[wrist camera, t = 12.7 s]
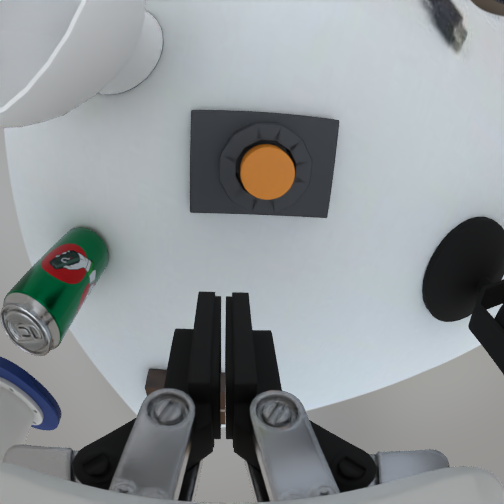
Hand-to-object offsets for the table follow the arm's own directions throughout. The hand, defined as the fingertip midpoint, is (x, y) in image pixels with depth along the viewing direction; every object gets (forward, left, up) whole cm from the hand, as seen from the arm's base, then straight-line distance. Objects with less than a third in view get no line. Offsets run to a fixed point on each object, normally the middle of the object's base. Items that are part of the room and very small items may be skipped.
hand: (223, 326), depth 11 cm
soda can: (-13, -5, -16) cm, 22 cm away
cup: (-9, +12, -16) cm, 22 cm away
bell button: (+3, +3, -13) cm, 14 cm away
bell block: (+3, +3, -16) cm, 16 cm away
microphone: (+28, -7, -16) cm, 33 cm away
